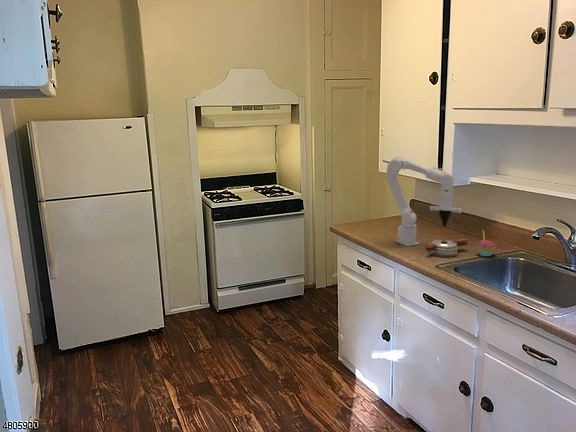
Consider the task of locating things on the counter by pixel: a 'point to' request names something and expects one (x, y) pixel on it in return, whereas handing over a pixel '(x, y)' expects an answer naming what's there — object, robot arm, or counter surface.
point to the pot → (445, 251)
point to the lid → (446, 243)
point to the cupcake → (485, 247)
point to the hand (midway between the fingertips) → (444, 225)
